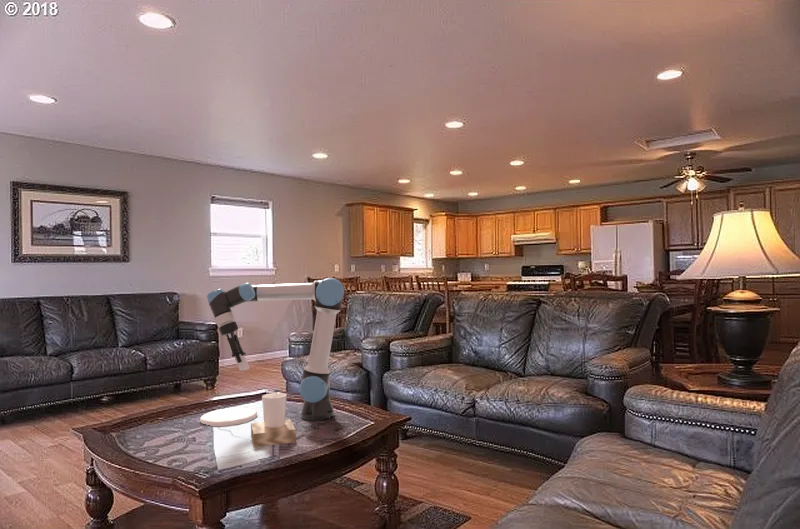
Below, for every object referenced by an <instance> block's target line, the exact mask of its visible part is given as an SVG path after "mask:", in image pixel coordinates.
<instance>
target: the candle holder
mask: <svg viewBox="0 0 800 529" xmlns="http://www.w3.org/2000/svg"><path fill="white" fill-rule="evenodd" d="M287 396H288V395H287V393H284V392H270V393H266V394H263V395H262V396H261V399H262V400H261V401H262V414H263V416H262V417H263V422H264V426H265V427H268V428H277V427H282V426H284V425H285V421H286V420H287V417H286V416H287Z"/></svg>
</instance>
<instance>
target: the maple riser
mask: <svg viewBox="0 0 800 529" xmlns="http://www.w3.org/2000/svg"><path fill="white" fill-rule="evenodd" d="M296 430H297V429H296V428H295V426H294V424H293V421H292V420H291V419H289V418H287V419H286V421H285V425H284V426H282V427H277V428H268V427H265V426H264V421H261V422H251V423H250V437H251V442H252V445H253V448H257V447H266V446H272V445H273V446H274V445H282V444H283V445H284V444H291V443H297V438H296V437H297V431H296Z"/></svg>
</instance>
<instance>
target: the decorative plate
mask: <svg viewBox="0 0 800 529" xmlns="http://www.w3.org/2000/svg"><path fill="white" fill-rule="evenodd" d="M257 417H258V410H257V409H251V408H246V407H238V406H237V407H235V406H232V407H226V408H221V409H217V410H212V411H209V412H207V413H204V414H203V415H201V417H200V418H199V423H200V422H201V423H203V424H206V425H205V426H208V425H210V426H209V427H229V426H237V425H240V424H244V423H248V422H252V421H253V420H255V419H256V418H257ZM201 423H200V424H201ZM203 424H202V425H203Z"/></svg>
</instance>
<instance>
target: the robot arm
mask: <svg viewBox="0 0 800 529" xmlns="http://www.w3.org/2000/svg"><path fill="white" fill-rule="evenodd" d="M345 291H346V290H345V285H344V284H343V282H342V281H341V280H340V279H338V278H336V277H326V278H324V279H319V280H314V281H313V282H303V283H300V282H299V283H274V284H272V283H271V284H251V283H250V282H245V283H241V284H240V285H238V286H235V287H234V288H231V289H229V290H225V291H224V290H223V289H222V288H219V289H215V290H212V291H210V292H208V293H207V295H206V298H207V302H208V306H209V307H210V310H211V313H212V315H213V317H214V319H215V320H214V323H215V324H217V327H219V329H218V330H219V333H220V335H221V336H226V339H227V342H228V344H229V347H230V350H231V353H232V354H231V356H232V358H234V360H235V362H236V364H237V367H238V369H239V372H241V371H243V372H245V371H247V370H250V369H251V368H250V366H249V363H248V360H247V357H246V356H245V355H246V352H245V351H244V350H243V348H242V346H241V343H240V341H239V337H238V335H237V334H235V332H237V331H238V330H239V326H238V323H237V322H236V318H235V316H234V314H233V311H232V309H233V308H234V307H236V306H238V305H241V304H243V303H247V302H248V303H249V302H250V303H251V302H268V301H269V302H273V301H297V300H298V301H300V300H303V301H304V300H313V301H314V306H313V307H314V308H315V310H316V317H315V322H314V328H313V335H312V339H311V345H310V351H309V358H308V362H307V365H305V366H304V367H303V370H302V377H301V382H300V383H299V394H300V396H301V398H302V399H303V400H304V401H303V405H302V407H301V412H300V418H301V419H302V420H304V421H305V420H306V421H313V420H315V421H323V420H322V419H325V420H327V419H326V418H329V417H331V416H333V415H334V416H335V411H334V410H335V409H334V406H333V404H332V402H331V398H330V397H331V392H330V391H331V390H330V388H331V387H330V385H331V384H330V382H331V381H330V380H331V379H330V376H331V371H330V367H328V366H329V360H330V354H331V348H332V344H333V343H332V342H333V338H334V337H333V336H334V331H335V325H336V319H337V314H338V313H340V312H341V311H342V306H343V299H344V297H345V296H344V295H345V293H346V292H345ZM334 416H333V417H334ZM329 419H330V418H329Z"/></svg>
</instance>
